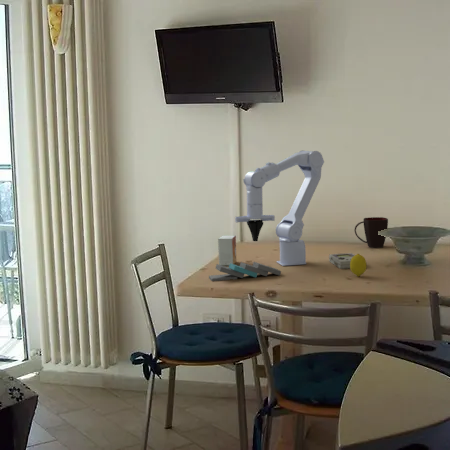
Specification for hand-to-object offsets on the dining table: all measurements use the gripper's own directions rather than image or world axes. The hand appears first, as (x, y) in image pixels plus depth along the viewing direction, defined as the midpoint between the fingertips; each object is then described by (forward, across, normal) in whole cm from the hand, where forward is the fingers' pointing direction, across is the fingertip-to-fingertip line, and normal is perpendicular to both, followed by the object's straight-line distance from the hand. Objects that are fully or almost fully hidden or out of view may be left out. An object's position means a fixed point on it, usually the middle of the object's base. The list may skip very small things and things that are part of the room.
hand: (255, 240), depth 253 cm
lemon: (+10, -30, +26) cm, 41 cm away
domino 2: (+10, +8, +12) cm, 18 cm away
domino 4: (+10, -5, +12) cm, 16 cm away
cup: (+10, -58, -25) cm, 64 cm away
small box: (+11, +8, -13) cm, 19 cm away
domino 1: (+11, +10, +12) cm, 19 cm away
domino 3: (+10, 0, +12) cm, 15 cm away
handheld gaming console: (+10, -34, +5) cm, 36 cm away
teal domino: (+10, +4, +12) cm, 16 cm away
